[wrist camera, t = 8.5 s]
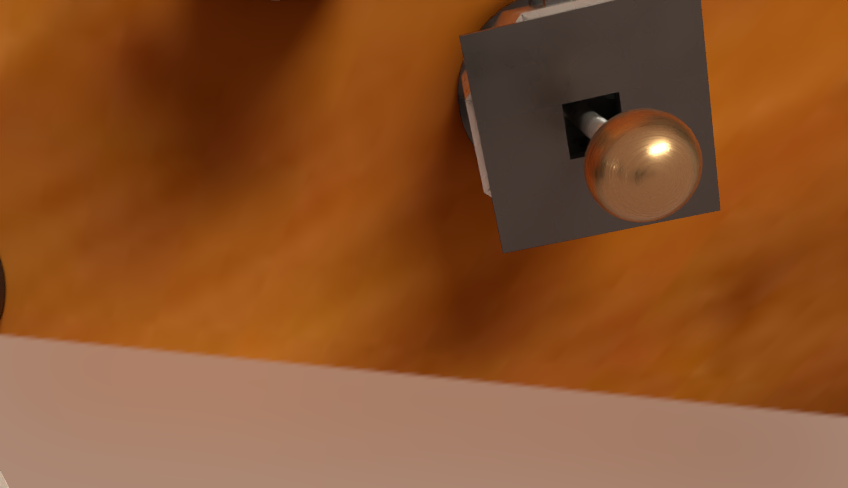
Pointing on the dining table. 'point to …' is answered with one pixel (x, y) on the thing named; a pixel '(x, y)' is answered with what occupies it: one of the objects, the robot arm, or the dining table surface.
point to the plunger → (633, 157)
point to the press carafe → (568, 82)
